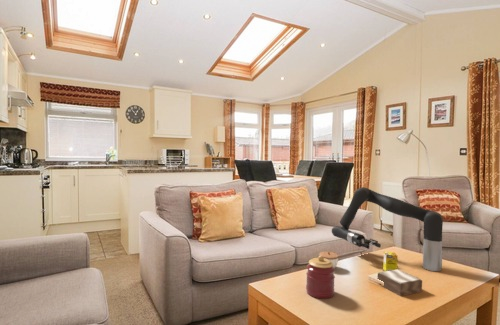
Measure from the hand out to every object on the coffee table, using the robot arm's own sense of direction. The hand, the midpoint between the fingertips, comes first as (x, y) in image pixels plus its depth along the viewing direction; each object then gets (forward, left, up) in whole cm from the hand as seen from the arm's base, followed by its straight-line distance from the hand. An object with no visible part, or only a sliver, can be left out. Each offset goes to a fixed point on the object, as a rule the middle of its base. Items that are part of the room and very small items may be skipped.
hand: (374, 246), depth 178 cm
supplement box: (0, +12, -12) cm, 16 cm away
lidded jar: (+29, -5, -12) cm, 31 cm away
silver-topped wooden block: (+11, +28, -11) cm, 32 cm away
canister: (+52, +20, -12) cm, 57 cm away
